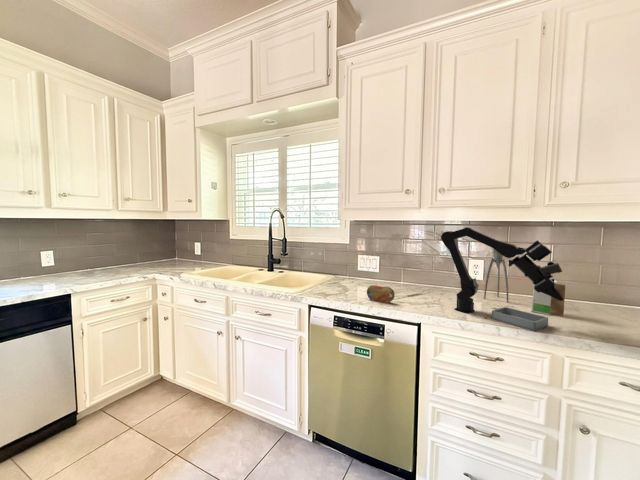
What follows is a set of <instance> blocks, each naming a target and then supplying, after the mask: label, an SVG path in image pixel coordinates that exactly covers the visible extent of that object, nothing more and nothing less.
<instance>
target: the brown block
mask: <svg viewBox="0 0 640 480" xmlns="http://www.w3.org/2000/svg"><path fill="white" fill-rule="evenodd" d="M554 288H555V289H556V290H557V291H558V293H559V294H560V295H561V296H562V298H563V300H562V301H560V300H558V299H556V298H553V297H551V304H550V315H549V316H551V315H553V316H555V317H560V318H561V317H562V318H564V312H565V311H564V309H565V297H566V284H562V283H561V284H560V283H557V284H554Z"/></svg>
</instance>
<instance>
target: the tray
mask: <svg viewBox="0 0 640 480" xmlns="http://www.w3.org/2000/svg"><path fill="white" fill-rule="evenodd" d="M490 315H491V316H490V317H491V320H495V321H497V322H502V323H505V324H508V325H512V326H515V327H519V328H521V329H525V330H529V331H532V332H537V331H539V330H541V329H544V328H547V327H548V325H549V317H547V316H544V315H540V314H535V313H531V312H527V311H524V310H520V309H517V308H511V307H508V306H504V307H503V306H502V307H500V308H496V309H493V310H491V314H490Z"/></svg>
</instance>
